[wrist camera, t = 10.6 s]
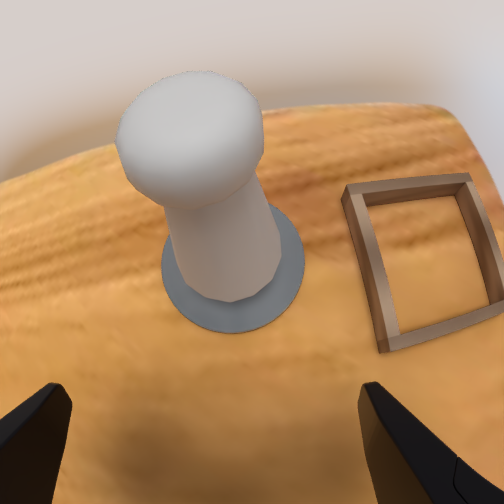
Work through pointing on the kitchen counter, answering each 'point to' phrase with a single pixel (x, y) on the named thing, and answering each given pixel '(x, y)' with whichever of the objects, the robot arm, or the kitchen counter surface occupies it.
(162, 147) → the salt shaker
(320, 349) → the kitchen counter surface
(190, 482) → the kitchen counter surface
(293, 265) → the coaster
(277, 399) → the kitchen counter surface
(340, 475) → the kitchen counter surface
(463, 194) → the square wooden frame
